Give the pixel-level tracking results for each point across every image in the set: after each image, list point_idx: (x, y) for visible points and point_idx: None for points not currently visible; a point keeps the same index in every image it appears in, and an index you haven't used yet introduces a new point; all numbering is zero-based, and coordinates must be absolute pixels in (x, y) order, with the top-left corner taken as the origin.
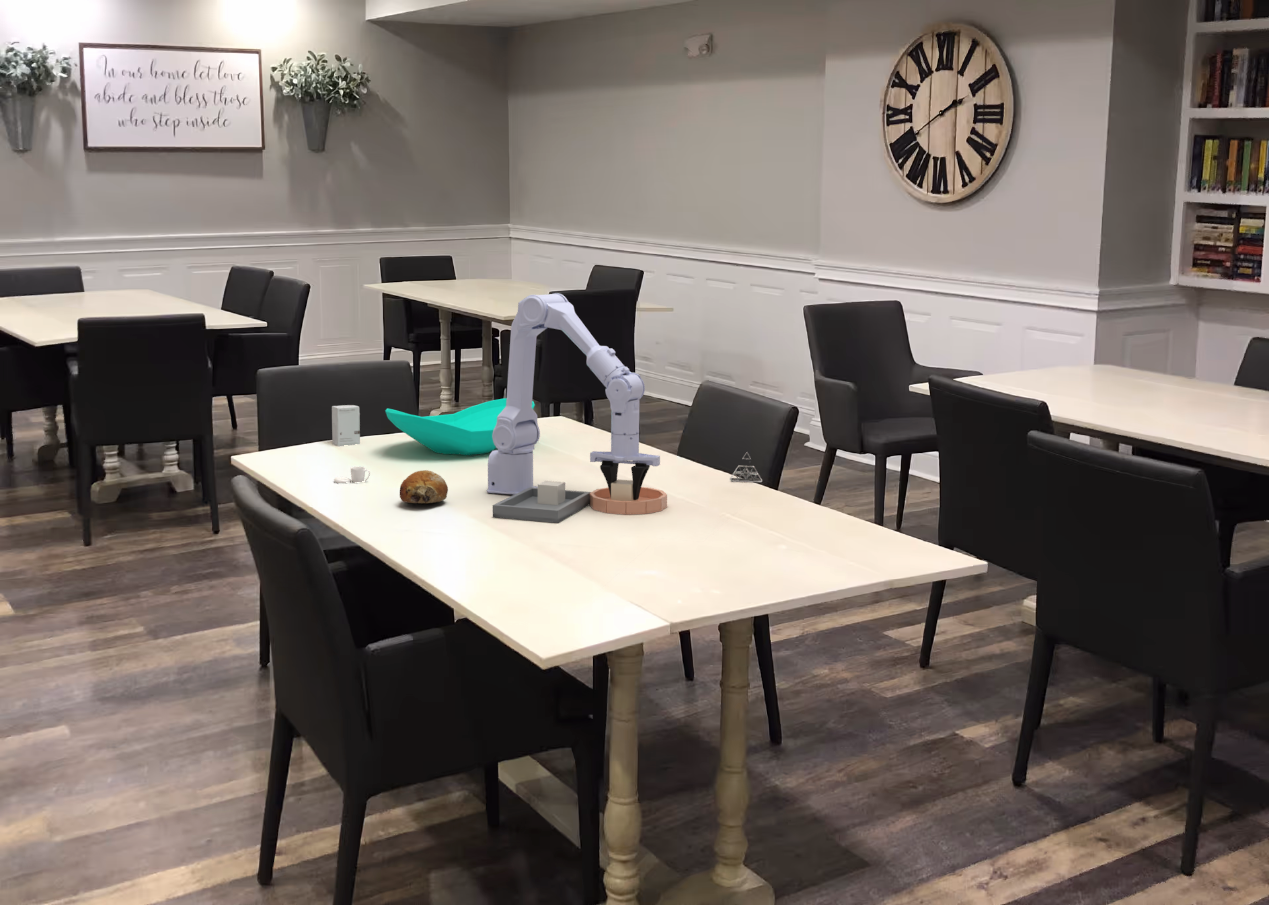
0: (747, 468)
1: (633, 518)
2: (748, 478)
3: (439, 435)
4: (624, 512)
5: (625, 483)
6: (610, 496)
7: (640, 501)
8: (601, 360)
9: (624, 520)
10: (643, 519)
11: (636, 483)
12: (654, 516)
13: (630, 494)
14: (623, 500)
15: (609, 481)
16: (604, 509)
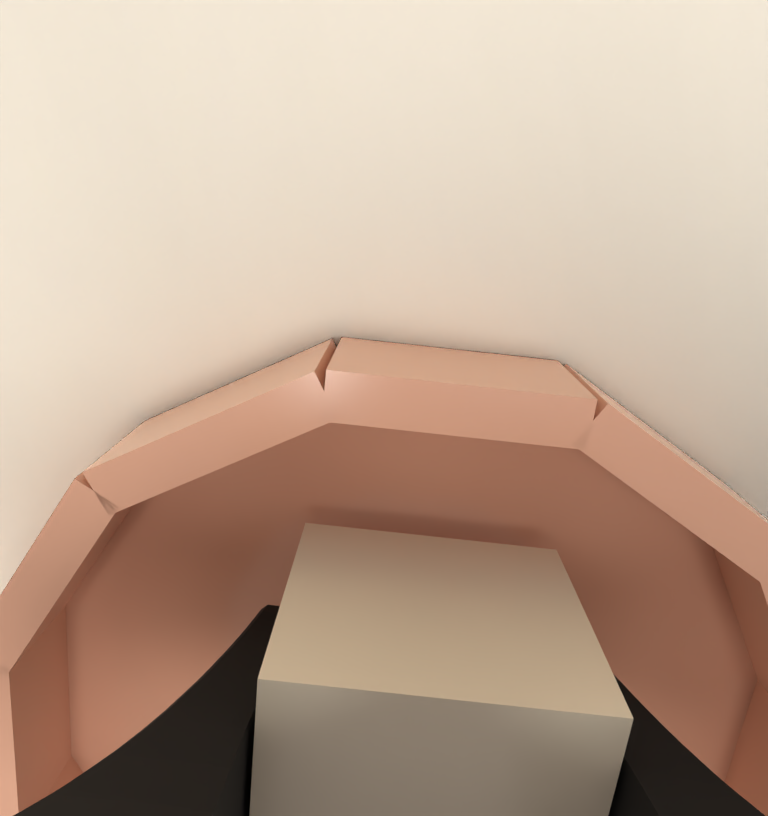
0: None
1: (208, 176)
2: None
3: None
4: (351, 342)
5: (385, 753)
6: None
7: (144, 449)
8: None
9: (280, 35)
10: (84, 153)
11: (176, 730)
12: (22, 335)
13: (299, 585)
14: (402, 550)
15: (676, 778)
16: (597, 388)
